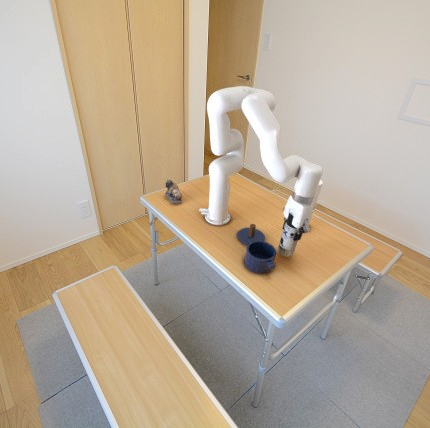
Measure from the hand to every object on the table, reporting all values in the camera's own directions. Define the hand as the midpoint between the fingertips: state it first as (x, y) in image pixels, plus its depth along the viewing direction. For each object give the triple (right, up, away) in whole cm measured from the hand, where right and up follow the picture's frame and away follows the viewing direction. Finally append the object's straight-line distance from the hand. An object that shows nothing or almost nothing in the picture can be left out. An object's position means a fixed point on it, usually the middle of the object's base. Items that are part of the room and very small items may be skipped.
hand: (291, 233), depth 112 cm
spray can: (-1, -8, +6) cm, 10 cm away
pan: (-13, -12, +2) cm, 18 cm away
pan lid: (-14, -2, +15) cm, 20 cm away
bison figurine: (-52, +15, +39) cm, 67 cm away
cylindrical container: (+12, +2, +25) cm, 28 cm away
